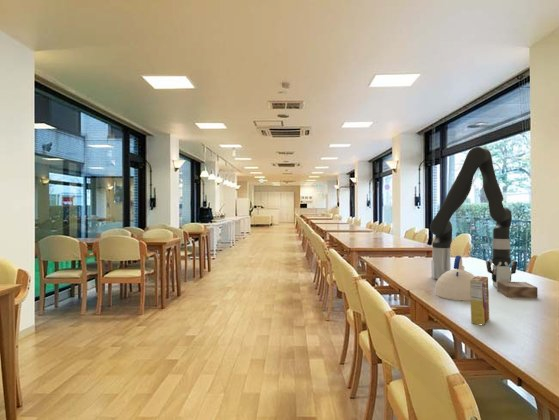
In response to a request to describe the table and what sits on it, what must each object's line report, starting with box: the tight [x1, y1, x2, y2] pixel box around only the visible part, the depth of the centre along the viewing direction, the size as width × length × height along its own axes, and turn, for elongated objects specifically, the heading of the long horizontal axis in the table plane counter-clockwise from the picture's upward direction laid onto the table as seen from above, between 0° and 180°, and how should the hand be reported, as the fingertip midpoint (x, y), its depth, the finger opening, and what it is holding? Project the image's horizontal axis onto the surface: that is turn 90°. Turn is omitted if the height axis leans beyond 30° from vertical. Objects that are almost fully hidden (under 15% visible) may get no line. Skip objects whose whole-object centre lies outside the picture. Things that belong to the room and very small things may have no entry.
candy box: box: [470, 275, 490, 326], centre depth 134 cm, size 9×4×15 cm, turn 140°
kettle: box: [434, 255, 476, 302], centre depth 173 cm, size 20×21×18 cm
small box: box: [492, 264, 512, 288], centre depth 189 cm, size 8×6×10 cm
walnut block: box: [496, 281, 539, 299], centre depth 173 cm, size 12×12×5 cm
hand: (501, 281), depth 189 cm, fingers closed on small box, 5 cm apart
